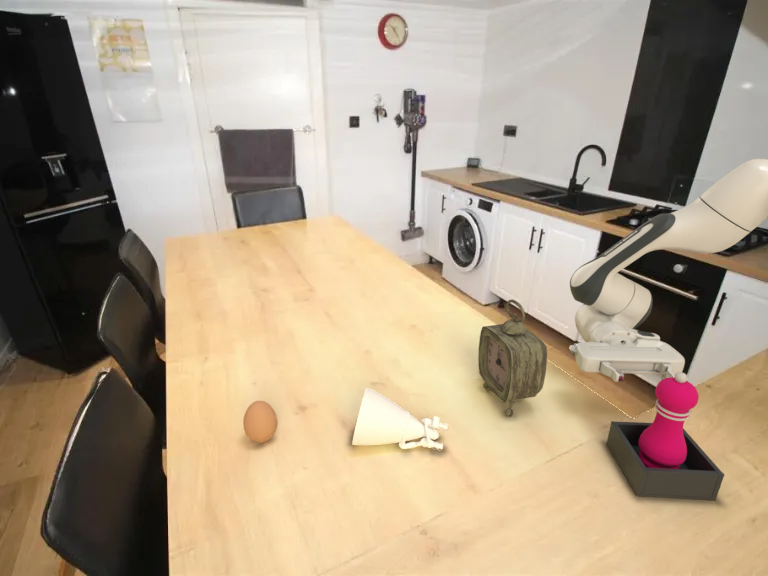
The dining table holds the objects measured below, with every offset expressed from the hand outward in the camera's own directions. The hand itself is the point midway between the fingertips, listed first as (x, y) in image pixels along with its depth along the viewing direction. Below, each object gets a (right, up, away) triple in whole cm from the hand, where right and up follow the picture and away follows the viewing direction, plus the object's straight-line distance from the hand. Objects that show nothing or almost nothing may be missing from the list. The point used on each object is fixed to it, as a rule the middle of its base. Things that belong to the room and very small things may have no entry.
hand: (645, 379), depth 79 cm
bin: (-1, -16, -4) cm, 16 cm away
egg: (-76, -14, +6) cm, 77 cm away
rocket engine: (-48, -14, +4) cm, 50 cm away
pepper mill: (-1, -15, -4) cm, 16 cm away
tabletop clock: (-22, -9, +17) cm, 29 cm away
